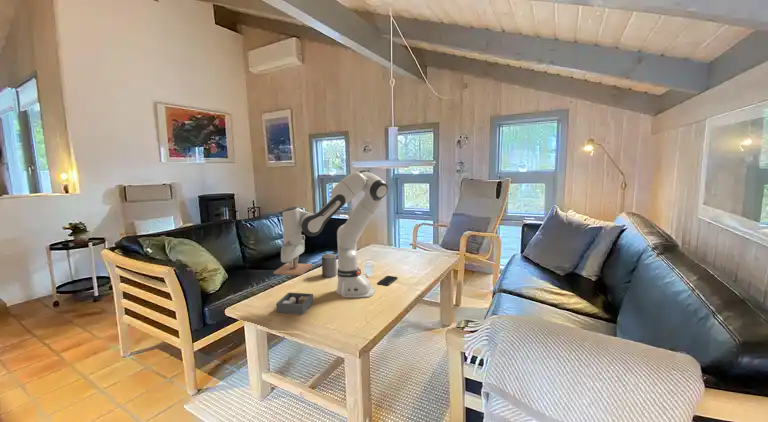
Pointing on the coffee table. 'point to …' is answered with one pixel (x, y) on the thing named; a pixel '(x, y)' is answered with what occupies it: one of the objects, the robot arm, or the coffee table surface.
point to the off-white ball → (293, 300)
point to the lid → (296, 270)
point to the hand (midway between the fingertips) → (293, 265)
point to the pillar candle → (329, 265)
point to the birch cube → (302, 299)
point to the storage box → (295, 307)
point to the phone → (387, 280)
